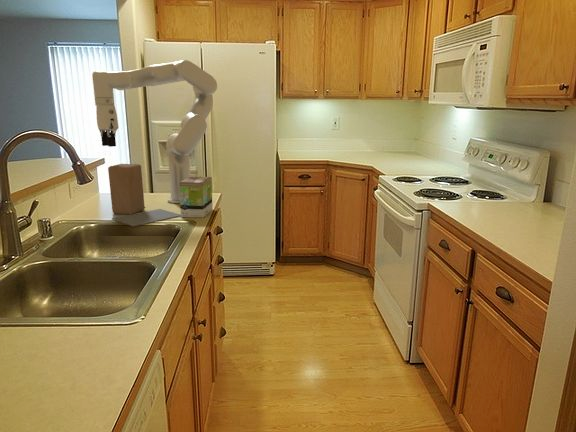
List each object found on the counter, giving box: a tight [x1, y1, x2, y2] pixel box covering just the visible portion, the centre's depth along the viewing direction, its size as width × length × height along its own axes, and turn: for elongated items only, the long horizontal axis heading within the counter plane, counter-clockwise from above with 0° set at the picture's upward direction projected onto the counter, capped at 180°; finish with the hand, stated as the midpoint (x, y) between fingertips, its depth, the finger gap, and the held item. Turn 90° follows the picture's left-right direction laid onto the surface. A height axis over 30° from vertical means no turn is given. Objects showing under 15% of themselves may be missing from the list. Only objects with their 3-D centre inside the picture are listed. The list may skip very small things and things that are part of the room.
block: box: [107, 163, 145, 215], centre depth 184 cm, size 10×10×20 cm
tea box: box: [179, 176, 213, 218], centre depth 182 cm, size 15×10×15 cm
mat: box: [111, 208, 181, 227], centre depth 177 cm, size 22×16×1 cm
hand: (109, 145), depth 187 cm, fingers open, 4 cm apart
